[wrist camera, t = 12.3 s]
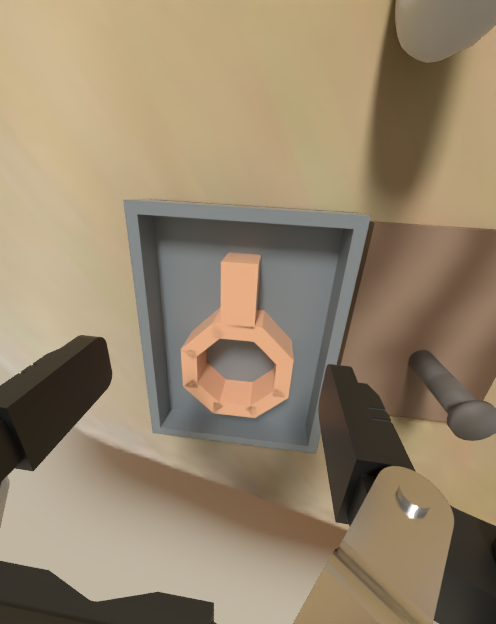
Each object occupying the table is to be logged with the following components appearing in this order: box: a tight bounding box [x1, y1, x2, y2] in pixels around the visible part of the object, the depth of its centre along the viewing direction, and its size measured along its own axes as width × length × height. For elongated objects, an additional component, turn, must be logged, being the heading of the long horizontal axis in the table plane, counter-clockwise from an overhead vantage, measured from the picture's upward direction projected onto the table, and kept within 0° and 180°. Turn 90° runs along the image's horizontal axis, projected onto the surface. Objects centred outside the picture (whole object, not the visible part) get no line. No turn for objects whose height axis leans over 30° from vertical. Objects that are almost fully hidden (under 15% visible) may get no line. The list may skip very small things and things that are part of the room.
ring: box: [181, 252, 294, 418], centre depth 21 cm, size 8×13×3 cm, turn 177°
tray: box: [123, 199, 371, 454], centre depth 21 cm, size 15×20×3 cm
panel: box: [337, 221, 496, 441], centre depth 18 cm, size 12×16×8 cm
